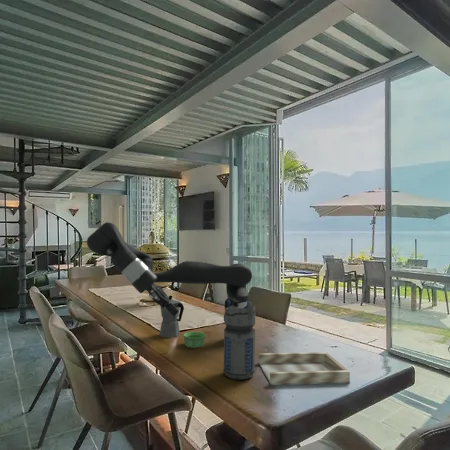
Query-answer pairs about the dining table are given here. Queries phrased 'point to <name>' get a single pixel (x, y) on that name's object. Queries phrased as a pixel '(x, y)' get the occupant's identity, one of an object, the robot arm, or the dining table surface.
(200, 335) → the ramekin
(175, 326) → the coffeepot
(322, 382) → the cream flat rectangular tray
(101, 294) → the dining table surface
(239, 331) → the beverage bottle
